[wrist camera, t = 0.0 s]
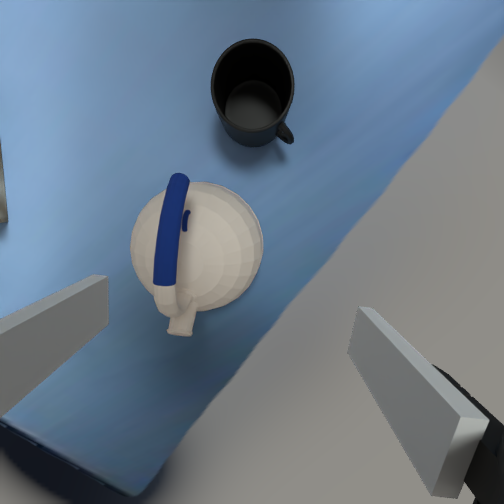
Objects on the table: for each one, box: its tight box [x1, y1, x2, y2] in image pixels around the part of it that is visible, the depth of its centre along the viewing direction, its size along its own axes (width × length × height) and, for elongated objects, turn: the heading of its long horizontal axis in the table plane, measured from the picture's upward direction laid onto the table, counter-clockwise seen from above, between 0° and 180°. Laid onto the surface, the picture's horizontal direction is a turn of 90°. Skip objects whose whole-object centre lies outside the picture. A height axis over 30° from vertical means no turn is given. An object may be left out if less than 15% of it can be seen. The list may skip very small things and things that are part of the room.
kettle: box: [130, 173, 263, 336], centre depth 32 cm, size 20×21×18 cm
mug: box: [211, 39, 294, 147], centre depth 32 cm, size 9×12×9 cm
